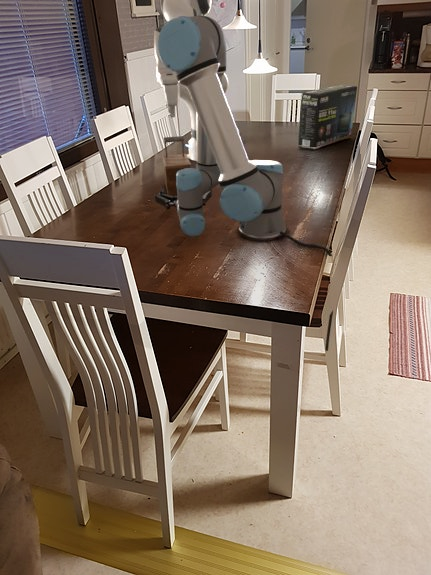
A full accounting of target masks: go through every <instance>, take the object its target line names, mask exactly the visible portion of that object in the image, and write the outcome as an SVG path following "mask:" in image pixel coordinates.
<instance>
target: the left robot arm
mask: <svg viewBox="0 0 431 575" xmlns="http://www.w3.org/2000/svg"><path fill="white" fill-rule="evenodd" d="M160 3H161V4H160V5H161V6H160V7H161V12H162V15H163V17H164V19H165V20H166V23H167V22H168V21H170V20H172V19H174V18H178V17H180V16H187V17H192V16H208V14H209V13H210V10H211V8H212V0H160ZM163 26H164V25H162V26H158V27H156V28H155V29H154V32H153V33H154V34H153V56H154V58H155V60H156V64H155V70H156V71H155V72H156V82H158V83H160V87H162V88H163V98H164V101H165V102H166V104H167V112H168V113H169V116H170V118H175V117H176V107H177V106H178V102H179V99H180V100H181V101H183V102H184V104H185V105H186V107H187V109H188V111H189V115H190V123H191V124H190V125H191V128H190V136H191V138H190V139H189V140H188V144H185V147H188V154H187V153H186V154H187V157H188V159H189V160H191V161H195V162H196V161H197V138H196V109H195V107H194V104H193V101H192V99H191V96H190V94H189V91H188V89H187V87H186V86H184V85H182V84H180V83H179V82H178V80H177V77H176V75H175V72H174V71H172V70H170V69H169V68H167V67H166V66H165V65H164V64H163V62H162V61H161V59H160V56H159V52H158V38H159V35H160V32H161V29H162V28H163ZM222 89H223V92H224V94H226V93H227V92H228V89H229V79H228V76H227V75H226V72H225V73H224V74H223V76H222Z"/></svg>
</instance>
